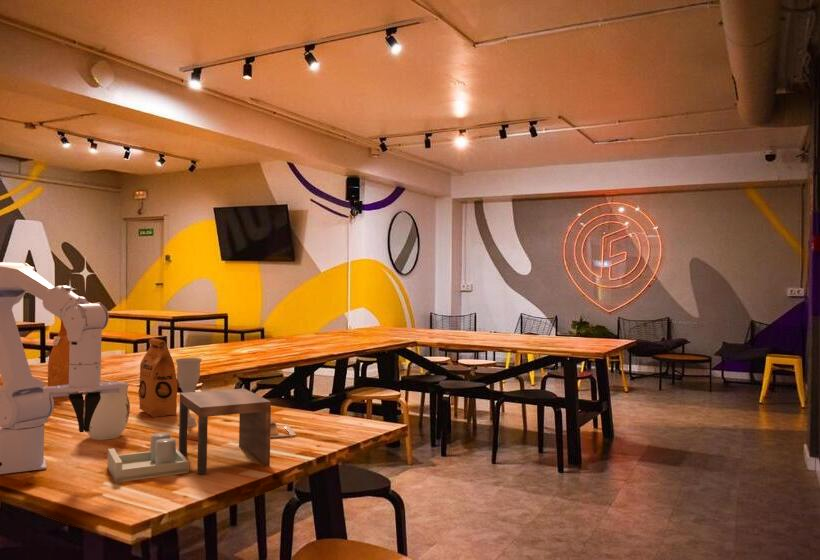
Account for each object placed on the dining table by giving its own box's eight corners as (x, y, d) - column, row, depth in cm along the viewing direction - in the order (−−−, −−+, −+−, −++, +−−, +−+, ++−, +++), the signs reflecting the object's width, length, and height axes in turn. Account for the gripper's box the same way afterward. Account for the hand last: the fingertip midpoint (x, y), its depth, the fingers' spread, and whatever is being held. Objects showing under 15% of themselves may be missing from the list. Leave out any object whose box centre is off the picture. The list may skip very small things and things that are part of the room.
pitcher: (121, 426, 175) (122, 375, 175) (135, 440, 160) (136, 385, 160) (76, 431, 169) (77, 378, 169) (86, 446, 154) (87, 388, 154)
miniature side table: (199, 475, 132) (200, 407, 132) (178, 453, 149) (179, 393, 149) (269, 466, 140) (270, 401, 140) (243, 446, 156) (244, 388, 157)
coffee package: (145, 418, 185) (147, 341, 185) (135, 411, 195) (137, 338, 195) (181, 415, 190) (182, 340, 191) (169, 408, 201) (171, 337, 201)
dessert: (243, 431, 174) (243, 414, 174) (288, 428, 178) (288, 411, 178) (248, 442, 162) (249, 423, 162) (296, 439, 167) (296, 420, 167)
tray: (115, 483, 127) (115, 450, 127) (107, 467, 138) (108, 437, 138) (188, 473, 135) (189, 442, 135) (176, 459, 145) (176, 430, 145)
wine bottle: (51, 392, 224) (52, 305, 224) (82, 391, 226) (84, 305, 227) (44, 397, 214) (46, 306, 214) (77, 396, 217) (78, 306, 217)
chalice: (191, 428, 173) (193, 361, 174) (168, 427, 175) (170, 360, 175) (205, 423, 181) (206, 358, 181) (183, 421, 182) (184, 357, 182)
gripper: (44, 367, 123) (43, 439, 123) (127, 363, 130) (125, 431, 130) (43, 363, 129) (41, 431, 129) (122, 359, 136) (120, 424, 136)
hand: (83, 431), depth 130 cm, fingers closed
